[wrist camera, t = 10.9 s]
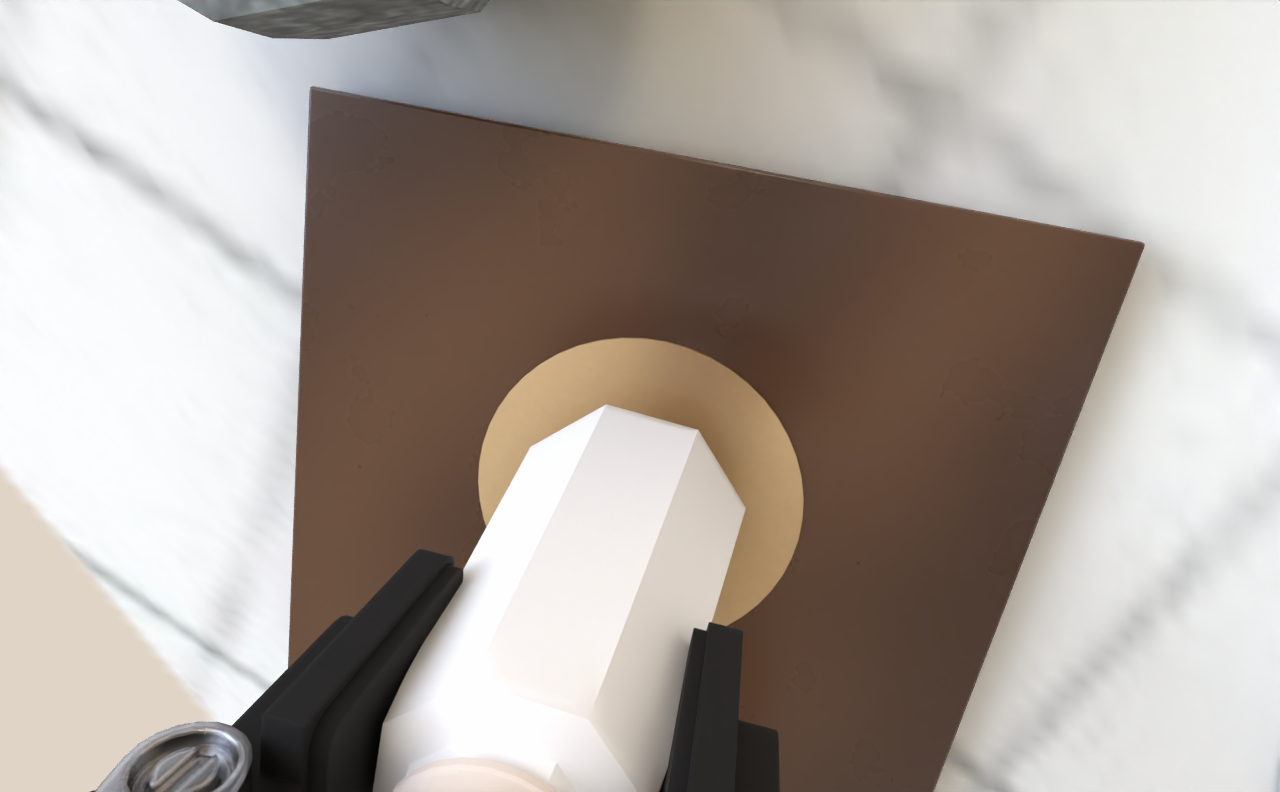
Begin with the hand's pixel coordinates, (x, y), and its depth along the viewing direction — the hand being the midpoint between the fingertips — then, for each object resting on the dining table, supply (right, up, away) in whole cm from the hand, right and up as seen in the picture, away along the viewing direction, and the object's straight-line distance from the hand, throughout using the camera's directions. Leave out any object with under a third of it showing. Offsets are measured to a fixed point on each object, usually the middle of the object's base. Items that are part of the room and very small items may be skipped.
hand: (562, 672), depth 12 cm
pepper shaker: (+1, +2, +6) cm, 6 cm away
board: (+1, +2, +7) cm, 8 cm away
